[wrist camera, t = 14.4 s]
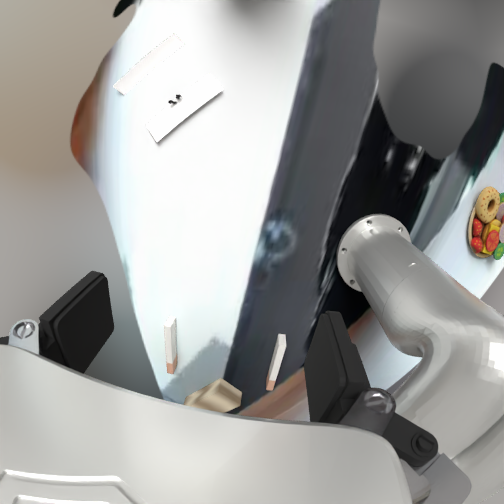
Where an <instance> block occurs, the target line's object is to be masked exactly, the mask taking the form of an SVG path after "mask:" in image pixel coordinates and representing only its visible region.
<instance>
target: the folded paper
mask: <svg viewBox="0 0 504 504" xmlns="http://www.w3.org/2000/svg"><path fill="white" fill-rule="evenodd" d="M183 45H185V43H184V42H183V41H182V40H181V39H180V38H178V37H177V36H176V35H175V34H172V35H171V36H170V37H168V38H167V39H166V40H164V41H163V42H162V43H161V44H159V45H158V46H157V47H156V48H154V49H153V50H152V51H151V52H149V53H148V54H147V55H146V56H145V57H144V58H142V59H141V60H140V61H139V62H138V63H137V64H136V65H135V66H133V67H132V68H131V69H130V70H129V71H128V72H127V73H126V74H125V75H124V76H123V77H122V78H121V79H120V80H119V81H118V82H117V83H116V84H115V85H114V86H113V87H114V88H115V89H117V90H118V91H119V92H121V93H122V94H123V95H125V94H126V93H127V92H128V91H130V90H131V89H132V88H133V87H134V86H135V85H136V84H137V83H138V82H139V81H140V80H141V79H143V78H144V77H145V76H146V75H147V74H148V73H149V72H150V71H152V70H153V69H154V68H155V67H156V66H158V65H159V64H160V63H161V62H162V61H164V60H165V59H166V58H167V57H169V56H170V55H171V54H173V53H174V52H175V51H176V50H178V49H179V48H180V47H182V46H183ZM222 90H224V89H223V88H222V87H221V85H220V84H219V83H218V82H217V81H216V80H215V78H214V77H213V76H212V75H211V74H210V73H209V74H208V75H206V76H205V77H204V78H202V79H201V80H200V81H198V82H197V83H196V84H194V85H193V86H192V87H190V88H189V89H188V90H186V91H185V92H184V93H183V94H181V95H176V96H177V97H176V99H175V100H174V101H171V100H170V101H169V103H170V104H169V105H168V106H167V107H166V108H164V109H163V110H162V111H161V112H160V113H159V114H158V115H156V116H155V117H154V118H153V119H152V120H151V121H150V122H149V123H148V124H146V127H147V128H148V130H149V131H150V133H151V134H152V136H153V137H154V139H155V140H156V142H158V141H159V140H161V139H162V138H163V137H164V136H165V135H166V134H167V133H169V132H170V131H171V130H172V129H173V128H174V127H176V126H177V125H178V124H179V123H180V122H182V121H183V120H184V119H185V118H187V117H188V116H189V115H190V114H192V113H193V112H194V111H195V110H197V109H198V108H199V107H201V106H202V105H203V104H204V103H206V102H207V101H208V100H210V99H211V98H213V97H214V96H215V95H217V94H218V93H219V92H221V91H222Z"/></svg>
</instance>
